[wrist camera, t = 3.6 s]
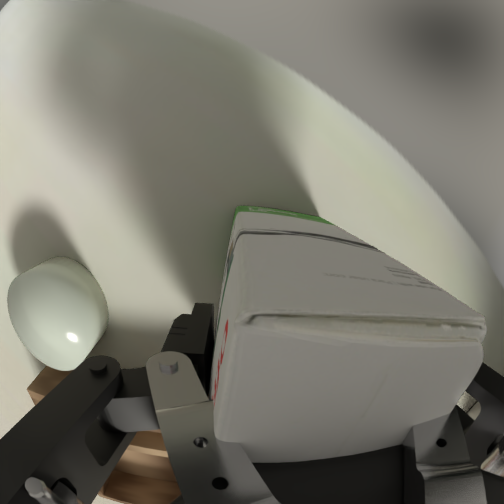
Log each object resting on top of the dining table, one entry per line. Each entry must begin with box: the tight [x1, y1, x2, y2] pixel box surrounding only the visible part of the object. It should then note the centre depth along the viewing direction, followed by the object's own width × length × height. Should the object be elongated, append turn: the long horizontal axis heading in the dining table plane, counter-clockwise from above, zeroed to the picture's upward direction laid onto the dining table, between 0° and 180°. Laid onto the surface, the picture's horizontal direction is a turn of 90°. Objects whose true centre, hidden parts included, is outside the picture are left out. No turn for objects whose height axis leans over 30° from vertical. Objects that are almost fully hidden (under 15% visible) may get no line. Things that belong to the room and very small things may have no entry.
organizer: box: [27, 365, 181, 504], centre depth 17 cm, size 18×17×4 cm
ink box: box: [208, 206, 487, 463], centre depth 10 cm, size 9×5×12 cm, turn 170°
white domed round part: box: [7, 257, 109, 371], centre depth 14 cm, size 6×6×4 cm
